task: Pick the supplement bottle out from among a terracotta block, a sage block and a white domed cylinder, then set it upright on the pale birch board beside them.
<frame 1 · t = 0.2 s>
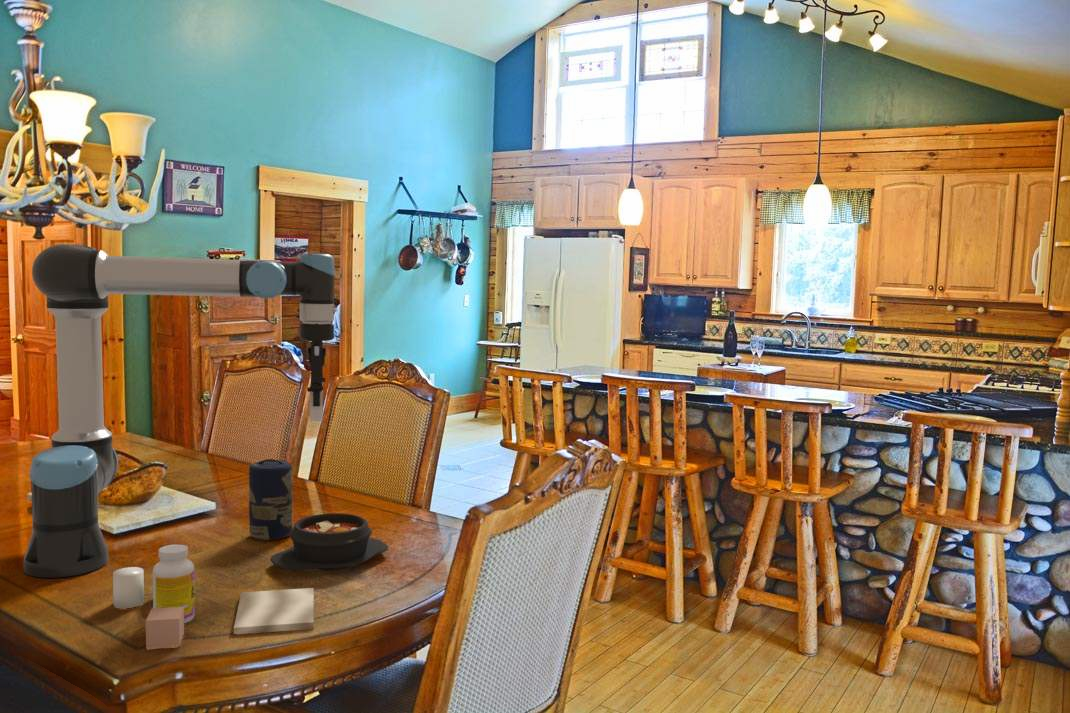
hand: (316, 415, 196), 28 cm above the table, tool pointing down, fingers open, 13 cm apart
canister: (271, 537, 196), on the table
casserole: (330, 562, 181), on the table
birch board: (276, 613, 154), on the table
sage block: (177, 597, 160), on the table
terracotta block: (165, 642, 141), on the table
supplement bottle: (174, 621, 150), on the table
white domed cylinder: (128, 603, 156), on the table
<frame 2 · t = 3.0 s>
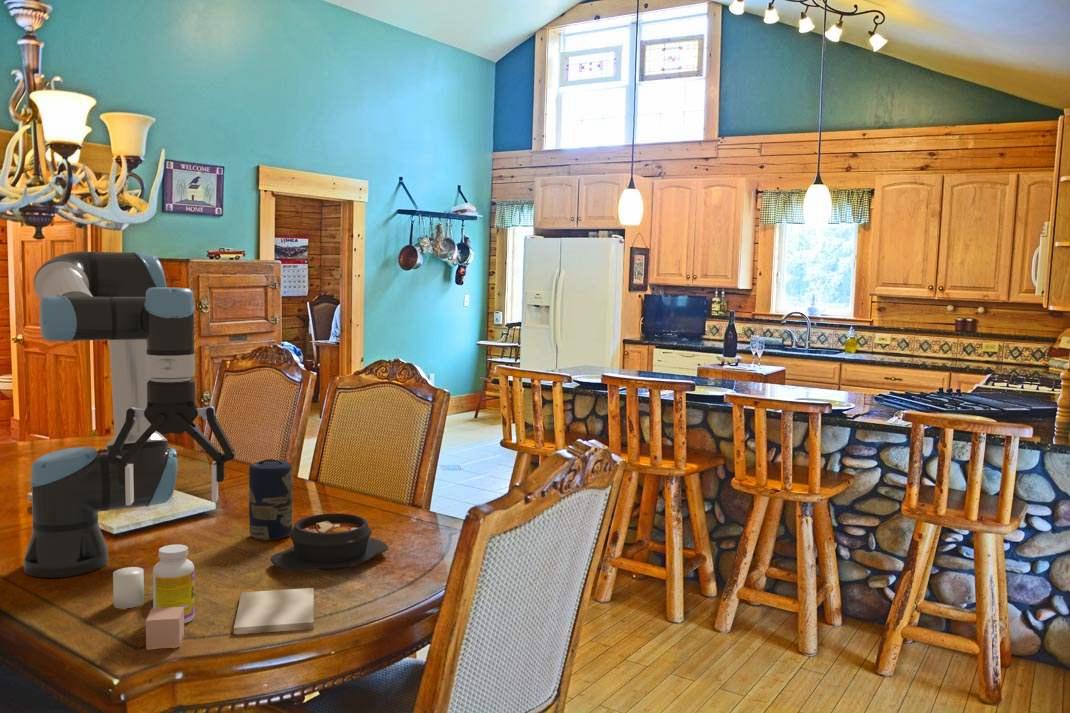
hand: (172, 501, 147), 21 cm above the table, tool pointing down, fingers open, 13 cm apart
nothing on the table moved.
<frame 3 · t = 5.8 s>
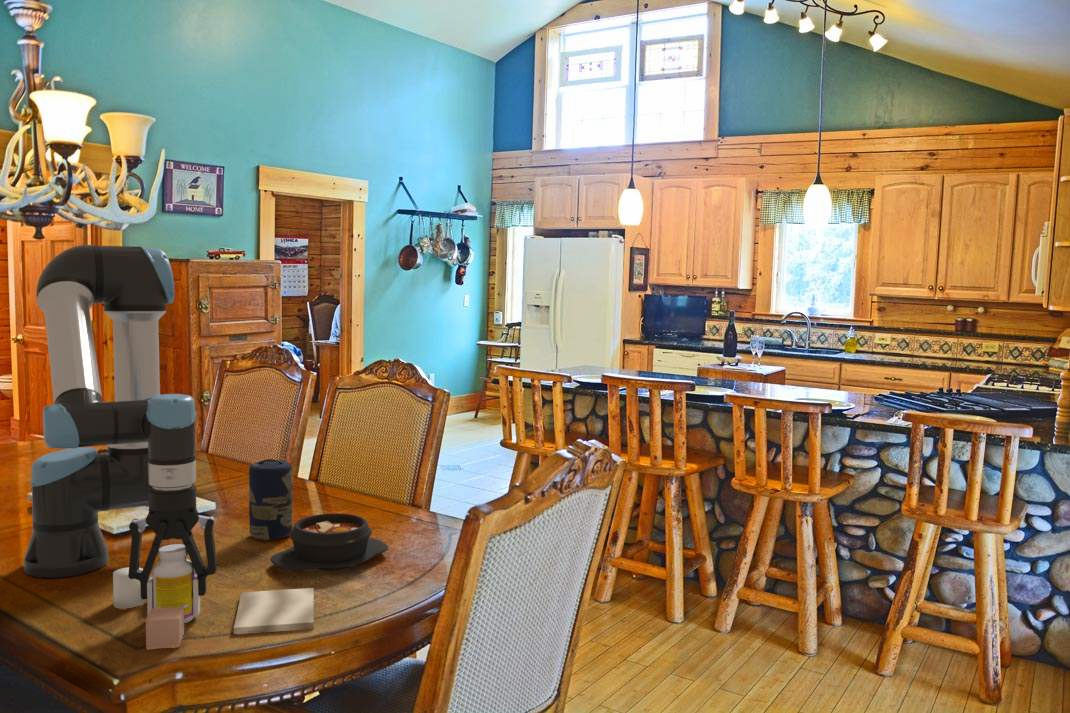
hand: (174, 614, 149), 1 cm above the table, tool pointing down, fingers closed on supplement bottle, 7 cm apart
supplement bottle: (174, 621, 150), on the table, touching gripper
everything else where it was.
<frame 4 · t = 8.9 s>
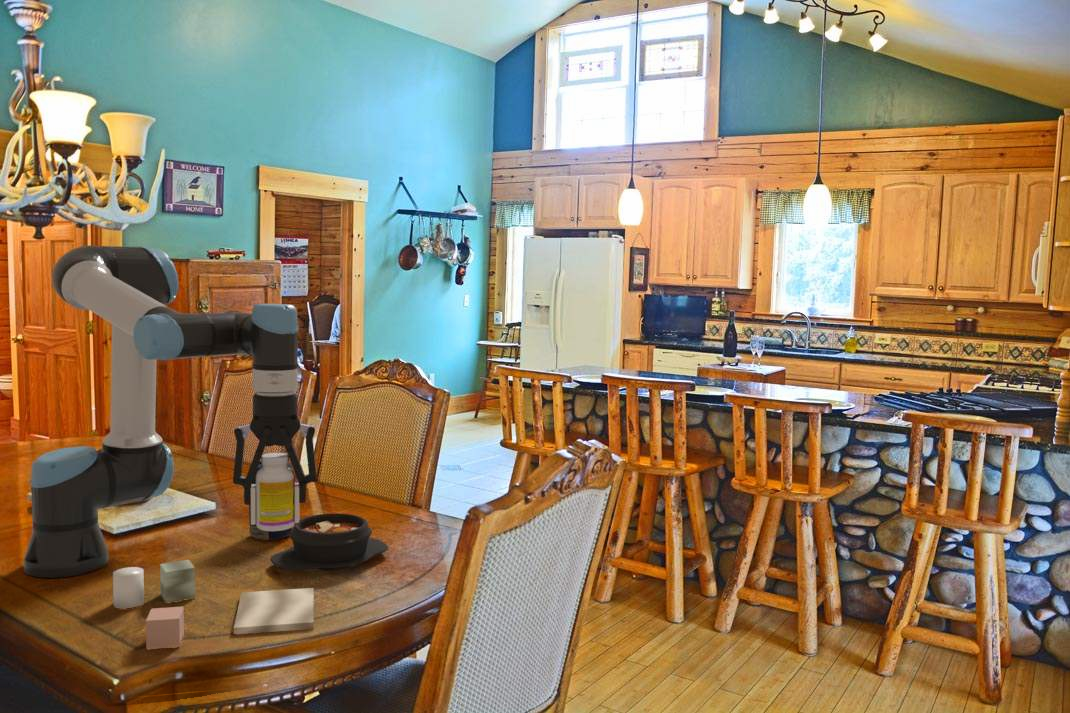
hand: (275, 521, 152), 17 cm above the table, tool pointing down, fingers closed on supplement bottle, 7 cm apart
supplement bottle: (275, 527, 152), point 16 cm above the table, touching gripper
everything else where it was.
when the fingers open (4 cm above the table, at t = 12.1 s): supplement bottle drops 1 cm, resting on birch board.
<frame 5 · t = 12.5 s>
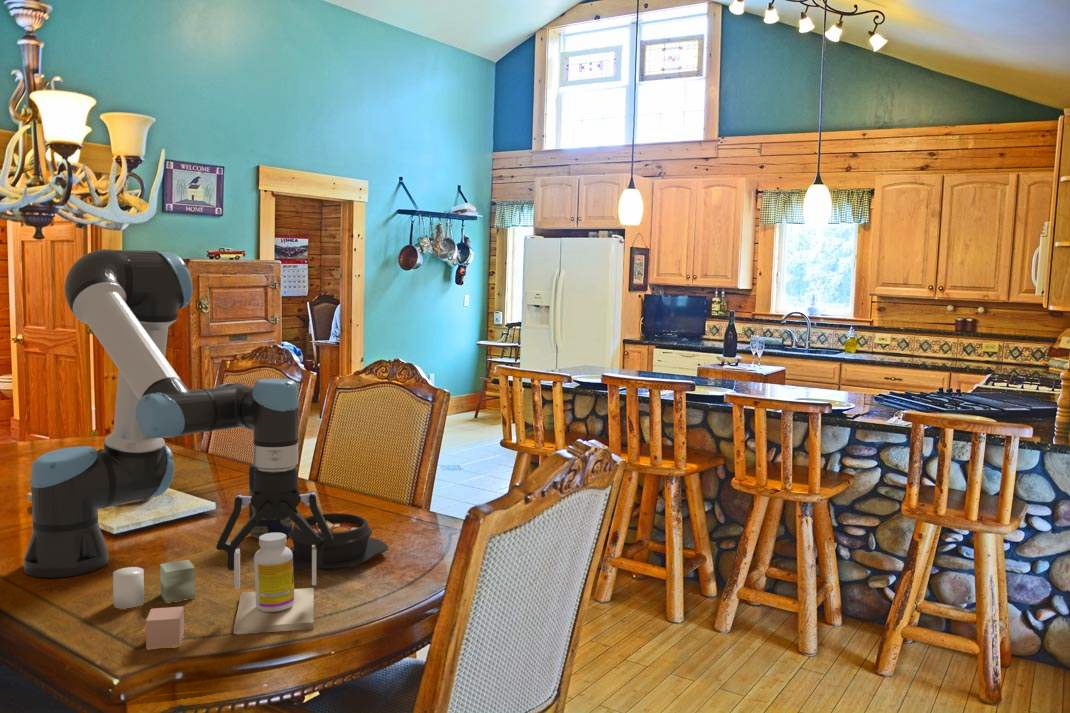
hand: (276, 584, 153), 5 cm above the table, tool pointing down, fingers open, 12 cm apart
supplement bottle: (275, 607, 154), point 1 cm above the table, touching birch board
everything else where it was.
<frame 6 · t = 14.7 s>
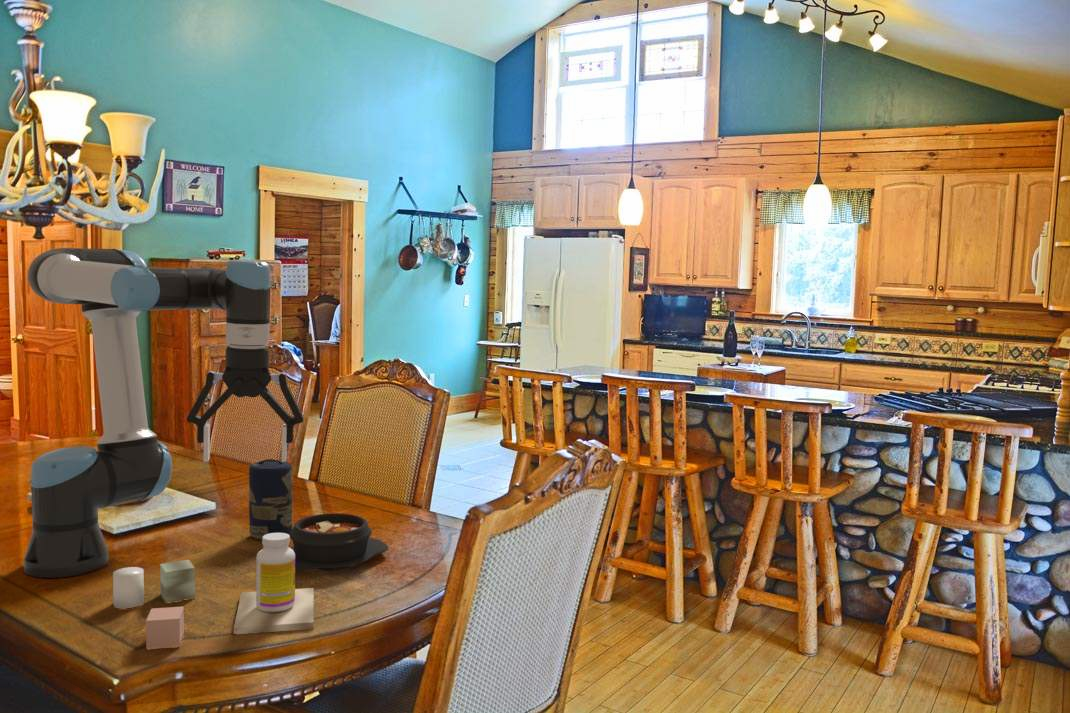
hand: (245, 460, 159), 26 cm above the table, tool pointing down, fingers open, 13 cm apart
nothing on the table moved.
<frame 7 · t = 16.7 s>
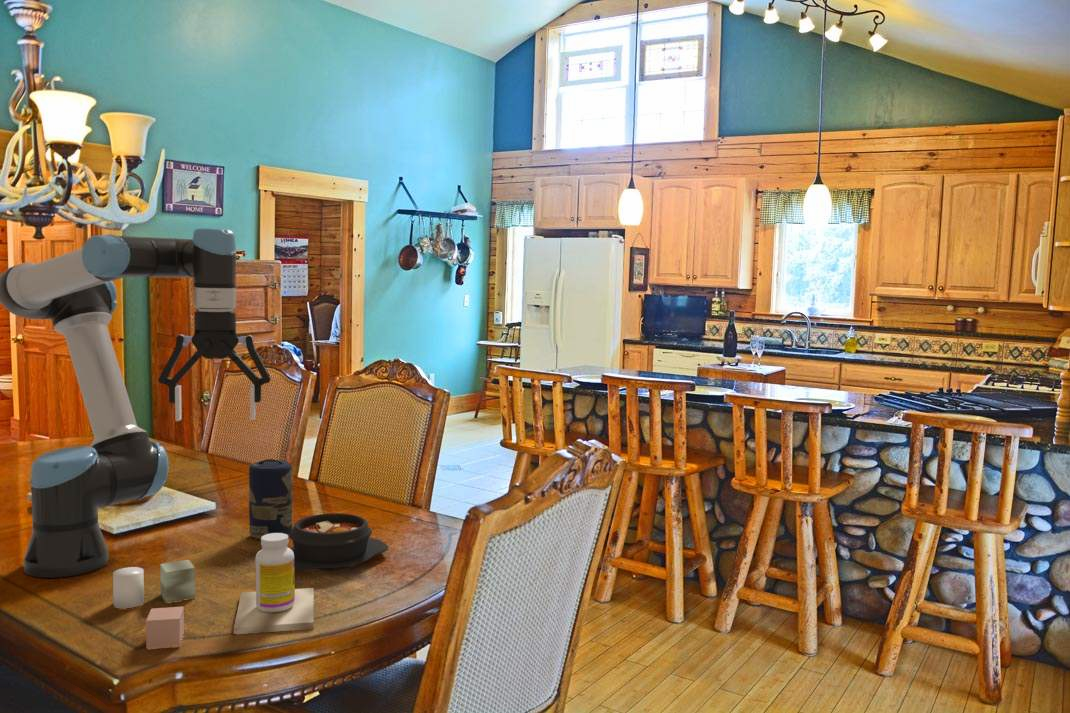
hand: (216, 419, 167), 32 cm above the table, tool pointing down, fingers open, 13 cm apart
nothing on the table moved.
at the end: supplement bottle inside the target area on the birch board (0.1 cm from its centre), point 1.0 cm above the birch board's base; supplement bottle tilted 1°; the gripper is holding nothing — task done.
